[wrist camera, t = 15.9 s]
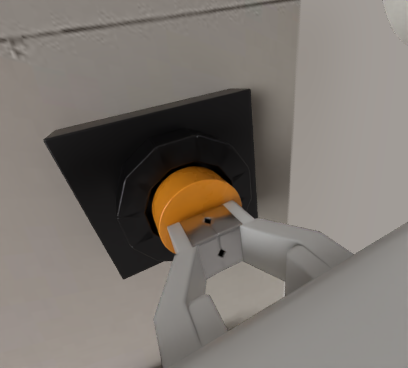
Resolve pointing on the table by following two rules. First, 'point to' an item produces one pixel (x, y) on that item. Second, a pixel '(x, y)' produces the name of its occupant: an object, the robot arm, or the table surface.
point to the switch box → (153, 166)
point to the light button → (188, 198)
